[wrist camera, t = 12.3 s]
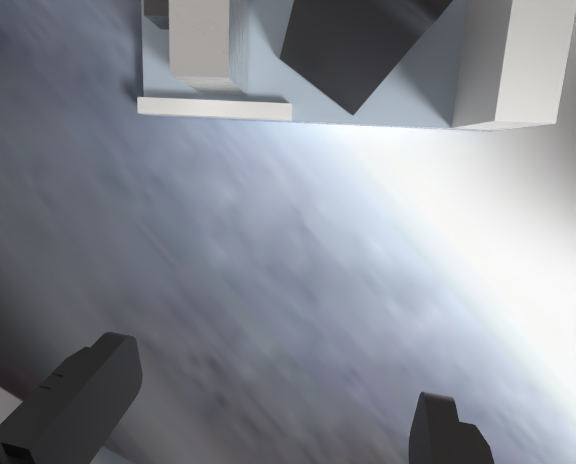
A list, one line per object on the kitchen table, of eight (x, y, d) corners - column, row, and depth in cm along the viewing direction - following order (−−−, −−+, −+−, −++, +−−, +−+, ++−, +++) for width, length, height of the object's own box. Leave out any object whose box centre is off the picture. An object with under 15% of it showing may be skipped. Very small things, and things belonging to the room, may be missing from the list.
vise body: (519, -69, 24) (607, -161, 17) (489, 131, 26) (555, 123, 19) (146, -78, 25) (82, -168, 18) (151, 116, 27) (96, 103, 20)
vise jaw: (250, -60, 24) (231, -131, 18) (246, 95, 25) (228, 77, 20) (169, -62, 24) (124, -133, 18) (171, 91, 26) (131, 73, 20)
